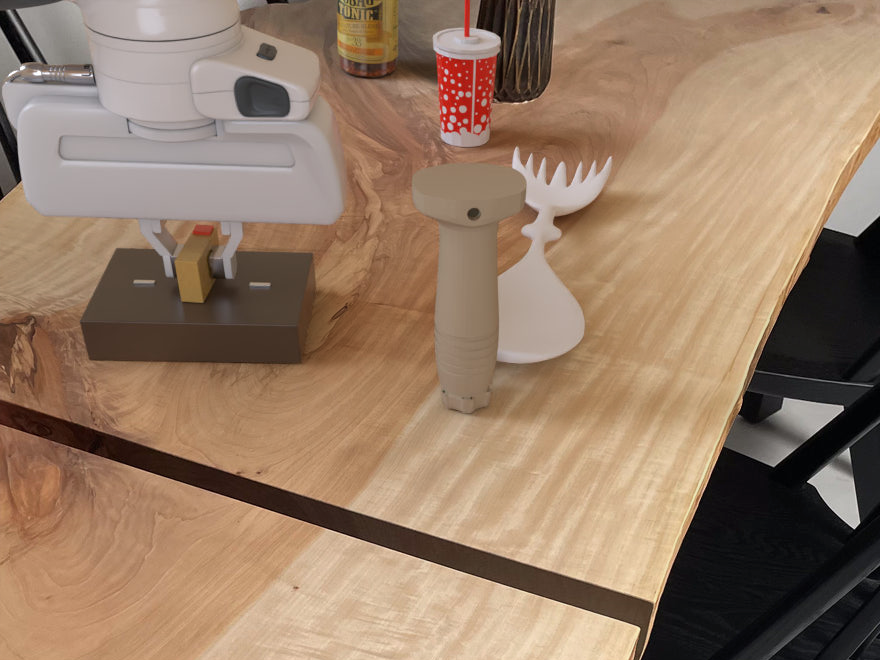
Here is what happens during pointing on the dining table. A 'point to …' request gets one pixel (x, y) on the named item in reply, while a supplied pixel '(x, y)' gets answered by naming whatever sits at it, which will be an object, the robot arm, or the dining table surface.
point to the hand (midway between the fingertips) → (202, 274)
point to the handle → (467, 271)
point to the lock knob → (196, 264)
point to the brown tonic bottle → (367, 36)
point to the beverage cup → (466, 82)
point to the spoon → (543, 270)
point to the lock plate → (201, 311)
